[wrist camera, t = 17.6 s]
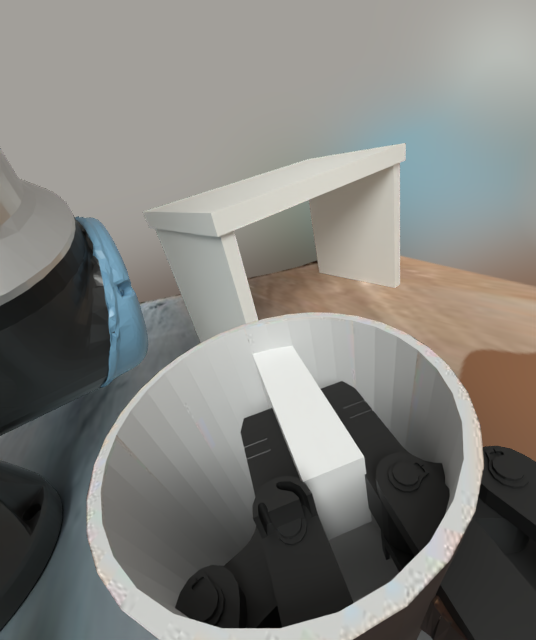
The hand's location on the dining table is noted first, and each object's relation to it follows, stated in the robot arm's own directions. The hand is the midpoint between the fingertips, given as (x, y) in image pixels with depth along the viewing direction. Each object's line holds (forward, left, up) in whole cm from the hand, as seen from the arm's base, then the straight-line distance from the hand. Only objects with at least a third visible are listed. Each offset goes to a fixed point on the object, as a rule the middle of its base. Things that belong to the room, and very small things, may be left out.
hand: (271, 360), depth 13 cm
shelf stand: (-9, +31, -16) cm, 36 cm away
